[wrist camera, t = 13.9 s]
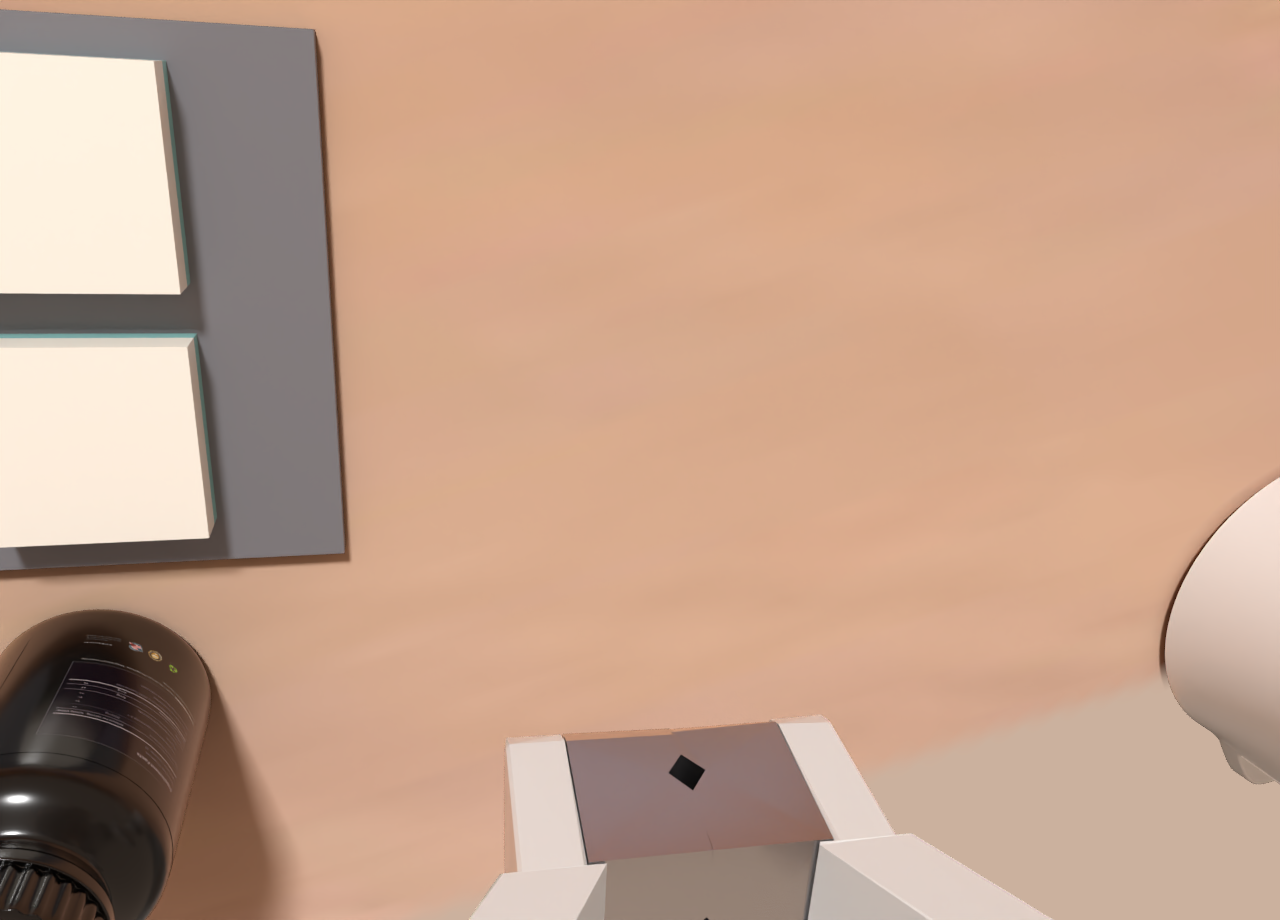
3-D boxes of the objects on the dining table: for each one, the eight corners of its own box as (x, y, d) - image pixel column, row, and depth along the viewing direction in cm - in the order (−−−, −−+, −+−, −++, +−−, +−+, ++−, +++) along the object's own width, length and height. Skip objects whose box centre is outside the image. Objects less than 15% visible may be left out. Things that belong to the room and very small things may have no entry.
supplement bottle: (139, 802, 36) (28, 1130, 25) (-50, 711, 33) (-269, 1037, 22) (259, 667, 35) (197, 947, 24) (74, 562, 32) (-90, 826, 21)
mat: (315, 29, 28) (313, 29, 27) (345, 545, 34) (344, 553, 33) (-378, -15, 24) (-395, -16, 24) (-208, 571, 30) (-219, 581, 30)
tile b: (153, 61, 25) (-117, 45, 24) (180, 294, 28) (-66, 293, 26) (165, 60, 27) (-90, 46, 25) (190, 282, 29) (-43, 280, 28)
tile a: (187, 346, 28) (-54, 348, 27) (209, 538, 30) (-12, 548, 29) (196, 333, 30) (-32, 333, 28) (217, 517, 32) (6, 526, 30)
